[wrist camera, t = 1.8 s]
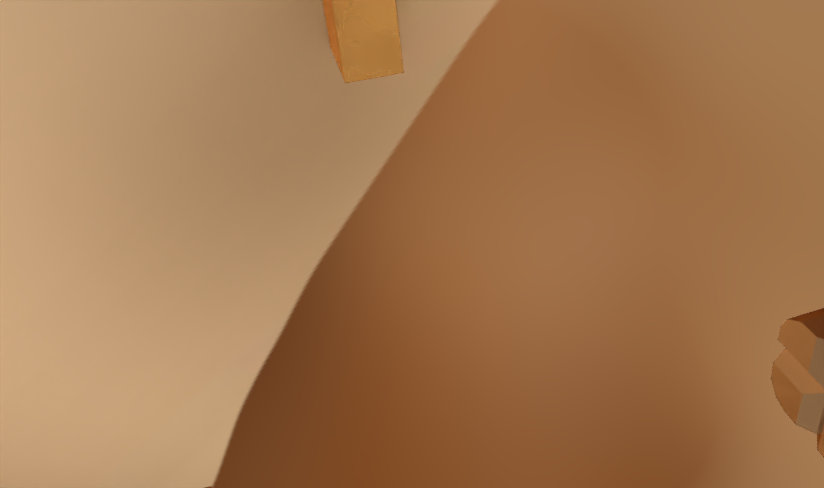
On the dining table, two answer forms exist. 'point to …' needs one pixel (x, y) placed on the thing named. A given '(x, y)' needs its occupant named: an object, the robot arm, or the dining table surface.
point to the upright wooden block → (364, 37)
